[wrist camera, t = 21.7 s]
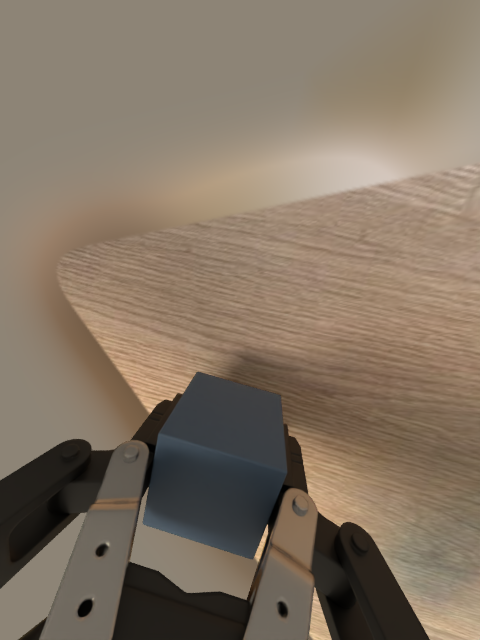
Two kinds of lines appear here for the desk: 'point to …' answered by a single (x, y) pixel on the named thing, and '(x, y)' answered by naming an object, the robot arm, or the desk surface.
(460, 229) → the desk surface
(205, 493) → the slate block
